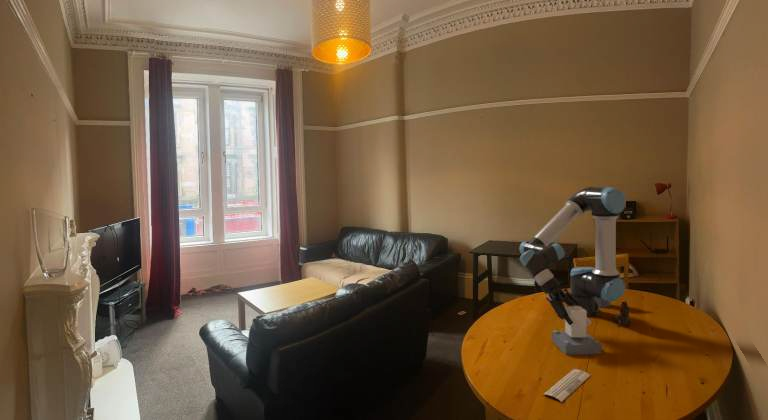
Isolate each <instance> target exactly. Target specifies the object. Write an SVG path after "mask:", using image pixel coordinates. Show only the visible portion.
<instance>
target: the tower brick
mask: <svg viewBox="0 0 768 420" xmlns="http://www.w3.org/2000/svg"><path fill="white" fill-rule="evenodd" d="M564 307H565V309H566V311H567V313H568V316H569V315H571V317H572V318H573V319H574V320H575V322H576V323H577V324H578V326H579V327H580V328H581V329H580V330H579V331H577V332H576V333H575V331H574V330H573V329H572V328H571V326H570V325H569V324H568V323H567V321H566V320H565V319H564V326H565V327H564V328H565V329H564V331H565V332H566V333H567V334H568V335H569V336H570V337H586V332H587V327H586V317H587V318H588V316H587V311H586V310H585V309H583V308H582V307H580V306H567V305H566V306H565V305H564Z"/></svg>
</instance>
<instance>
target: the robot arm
mask: <svg viewBox="0 0 768 420" xmlns="http://www.w3.org/2000/svg"><path fill="white" fill-rule="evenodd" d="M625 208H626V196H625V194H624V192H622V191H621V190H620V189H619V188H615V187H612V186H611V187H610V186H609V187H608V186H607V187H606V186H602V187H601V186H597V187H595V186H588V187H584V188H582V189H580V190H578V191H577V192H575V193H574V194H573V195H571V196H570V197H569V198H568V199H567V200H566V201H565V202H564V206H563V207H562V208H561V209H560V210H559V211H558V212H557V213H556V214H555V215H554V216H553V217H551V219H550V220H549V221H547V223H546V224H545V225H544V226H543V227H542V228H541V229H540V230H539V231H538V232H537V233H536V234H535V235H534V236H533V237H532V238H531V239H530V240H529V241H528V240H524V241H523V242H521V243H520V245H519V248H518V249H519V252H520V254H521V255H520V257H519V261H520V263H521V264H522V266H523V267H524V268H525V270H527V272H528V273H529V275H530V276H531V277H532V278H533V279H534V281H535V282H536V283H537V285H538V286H540V289H541V290H542V292H543V293H544V294H545V295H546V294H547V296H546V298H545V299H546V300H547V301H548V302H549V303H550V305H551V307H552V308H553V310H554V312H555V313H556V316H557V317H558V318H559V319H561V320H564V321H565V320H566V321H567V323H568V324H569V325H570V326H571V328H572V329H573V330H574V331H575V333H576V332H577V331H579V330H580V329H581V328H580V327H579V326H578V324H577V323H576V322H575V320H574V319H573V318H572V317H571V315H569V316H568V313H567V311H566V309H565V305H564V303H565V304H566V306H580V307H582V308H583V309H585V310H586V311H587V317H586V328H587V327H589V326H590V325H591V324H592V322H591V320H590V319H589V318H588V317H595V316H598V315H600V307H598V304H597V301H596V298H595V297H598V298H601V299H603V300H607V301H610V303H611V302H613V303H614V302H616V301H618V300H619V299H621V298H622V296H623V295H624V294H625V290H626V283H625V281H624V280H623V279H622V278H620V271H618V270H617V269H616V267H617V265H616V262H617V261H616V254H617V252H616V251H617V249H616V248H617V246H616V245H617V243H616V242H617V241H616V240H617V236H616V235H617V233H616V229H617V228H616V227H617V221H616V220H617V219H618V218H619V217H620V213H623V211H624V209H625ZM589 211H590V212H591V217H592V218H593V219H594V221H595V222H594V223H595V224H594V234H595V235H594V237H595V239H594V242H595V243H594V244H595V245H594V247H595V248H594V250H595V257H594V258H595V260H594V261H595V264H594V265H595V267H591V266H579V267H578V266H577V267H573V268H572V269H571V270H570V277H569V278H570V281H569V282H570V283H569V285H570V290H568V289H567V288H563V289H562V288H561V287H560V286H561V283H560V282H559V280H558V279H557V278H556V277H555V275H554V274H553V273H552V271H550V269H549V268H548V266H550V265H552V264H555V263H556V262H559V261H561V260H562V259H563V258H564V257H565V254H566V253H565V250H564V248H563V246H562V245H561V244H559V243H556V242H555V243H552V242H553V241H554V240H555V239H556V238H557V237H558V236H559V235H560V234H561V233H562V232H563V231H564V230H565V229H566V228H567V227H568V226H569V225H570V224H572V222H573V221H574V220H575V219H576V218H577V217H579V216H582V215H583V214H584V213H586V212H589ZM551 243H552V244H551ZM569 291H570V292H569Z"/></svg>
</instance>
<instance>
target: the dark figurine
mask: <svg viewBox="0 0 768 420" xmlns="http://www.w3.org/2000/svg"><path fill="white" fill-rule="evenodd" d="M620 307H621V308H620V310H619V313H620V315H614V316H612V317H611V318H612V320H613V321H615V322H618V324H617V325H616V326H617V327H622V326H621V325H622V324H624V325H626V326H627V327H631V323H632V320H631V319H629V317H630V311H631V308H630V306H628V302H627V300H626V301H625V300H623V301H622V302H621V304H620Z"/></svg>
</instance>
